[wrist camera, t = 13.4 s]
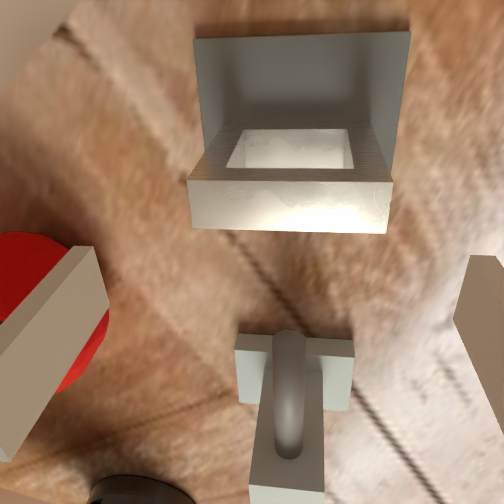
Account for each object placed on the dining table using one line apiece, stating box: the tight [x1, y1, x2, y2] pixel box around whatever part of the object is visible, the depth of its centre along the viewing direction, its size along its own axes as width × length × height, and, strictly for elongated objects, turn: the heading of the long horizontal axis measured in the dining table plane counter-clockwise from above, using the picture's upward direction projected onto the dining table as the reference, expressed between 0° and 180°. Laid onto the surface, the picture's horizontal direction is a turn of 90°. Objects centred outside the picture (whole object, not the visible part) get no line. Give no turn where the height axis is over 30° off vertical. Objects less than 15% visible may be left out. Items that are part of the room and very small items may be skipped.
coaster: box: [193, 30, 411, 174], centre depth 26 cm, size 12×12×1 cm
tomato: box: [0, 231, 109, 395], centre depth 32 cm, size 11×13×10 cm
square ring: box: [187, 121, 393, 233], centre depth 23 cm, size 9×2×9 cm, turn 93°
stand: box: [234, 329, 355, 504], centre depth 31 cm, size 16×10×12 cm, turn 3°
